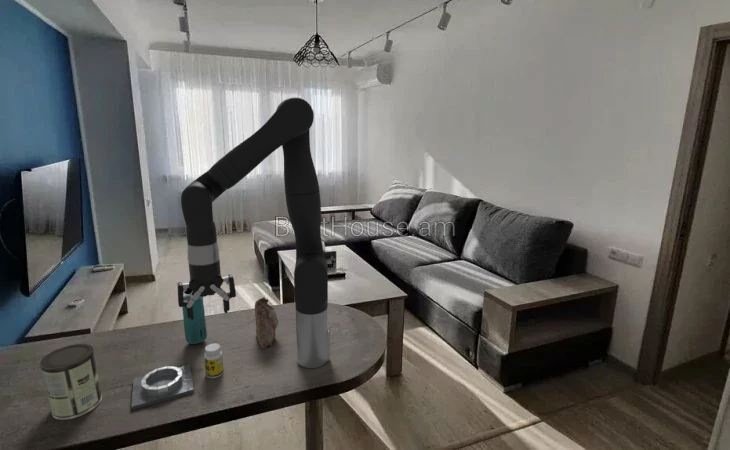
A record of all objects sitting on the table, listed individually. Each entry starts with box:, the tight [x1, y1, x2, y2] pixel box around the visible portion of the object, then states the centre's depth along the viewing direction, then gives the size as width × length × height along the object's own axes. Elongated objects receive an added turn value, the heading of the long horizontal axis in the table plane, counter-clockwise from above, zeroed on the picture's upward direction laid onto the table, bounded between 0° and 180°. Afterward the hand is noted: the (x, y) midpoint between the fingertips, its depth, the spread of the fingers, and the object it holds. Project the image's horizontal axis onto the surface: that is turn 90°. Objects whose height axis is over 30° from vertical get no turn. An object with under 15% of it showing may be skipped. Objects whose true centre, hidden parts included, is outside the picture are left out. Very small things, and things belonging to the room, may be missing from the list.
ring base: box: [130, 364, 195, 411], centre depth 102 cm, size 14×12×3 cm
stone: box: [254, 296, 279, 349], centre depth 124 cm, size 15×8×10 cm
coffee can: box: [39, 343, 103, 421], centre depth 93 cm, size 10×10×14 cm
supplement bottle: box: [203, 343, 225, 379], centre depth 107 cm, size 5×5×8 cm
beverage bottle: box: [181, 287, 208, 345], centre depth 120 cm, size 6×7×20 cm
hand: (209, 315), depth 104 cm, fingers open, 8 cm apart
